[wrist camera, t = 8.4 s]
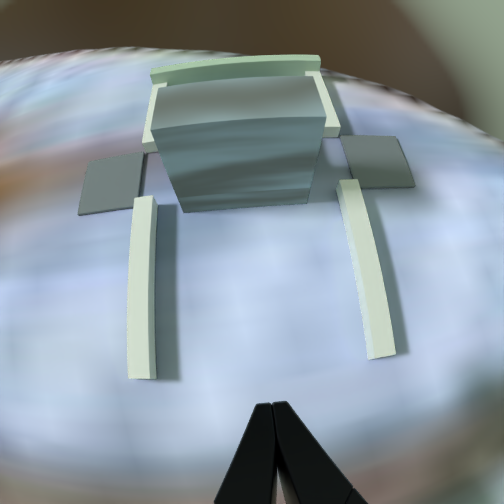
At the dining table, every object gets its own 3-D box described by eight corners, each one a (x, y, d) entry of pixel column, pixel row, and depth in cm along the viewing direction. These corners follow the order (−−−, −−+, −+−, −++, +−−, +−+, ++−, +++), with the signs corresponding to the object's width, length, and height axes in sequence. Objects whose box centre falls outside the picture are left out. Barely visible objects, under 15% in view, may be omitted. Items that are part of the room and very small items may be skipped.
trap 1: (414, 187, 26) (415, 185, 26) (355, 188, 26) (356, 187, 26) (394, 138, 29) (395, 136, 28) (339, 137, 28) (340, 135, 28)
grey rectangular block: (306, 204, 26) (326, 116, 17) (184, 214, 26) (150, 130, 17) (284, 94, 31) (288, 15, 22) (190, 101, 31) (173, 23, 22)
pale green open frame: (387, 356, 21) (404, 352, 18) (136, 378, 21) (119, 377, 18) (315, 75, 32) (318, 55, 30) (157, 88, 32) (151, 68, 29)
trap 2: (137, 207, 26) (136, 205, 26) (78, 215, 26) (77, 214, 26) (144, 153, 28) (143, 151, 28) (89, 163, 28) (88, 161, 28)
